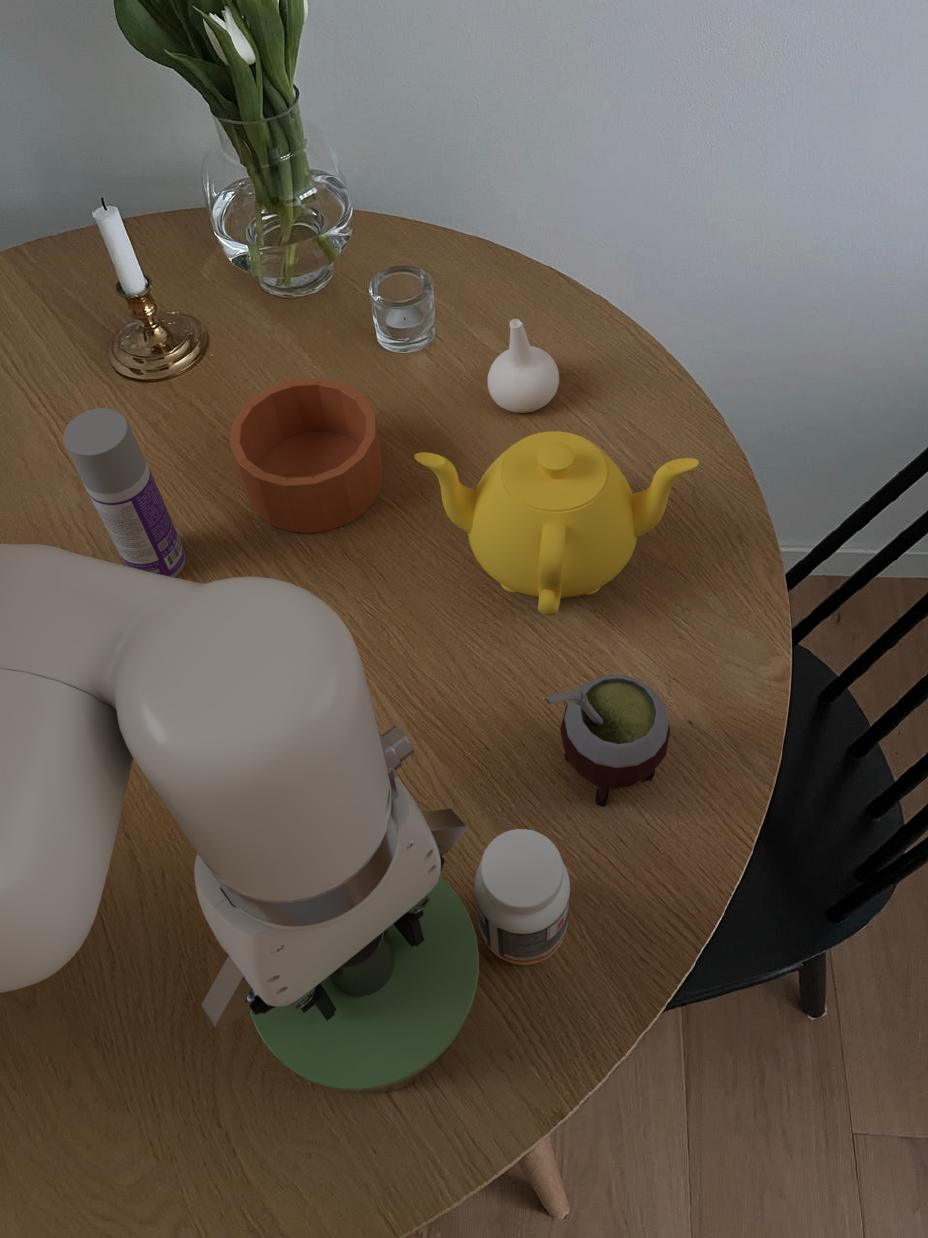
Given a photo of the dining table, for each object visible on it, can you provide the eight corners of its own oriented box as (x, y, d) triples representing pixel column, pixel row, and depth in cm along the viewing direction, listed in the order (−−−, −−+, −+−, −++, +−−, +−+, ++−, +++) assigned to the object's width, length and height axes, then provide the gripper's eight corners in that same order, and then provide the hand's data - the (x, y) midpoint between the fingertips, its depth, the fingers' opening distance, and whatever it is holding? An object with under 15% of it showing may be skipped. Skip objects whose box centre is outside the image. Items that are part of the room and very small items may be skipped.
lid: (208, 1042, 56) (173, 1010, 50) (308, 829, 62) (287, 781, 57) (429, 1131, 53) (419, 1108, 48) (510, 899, 60) (510, 855, 54)
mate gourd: (667, 733, 75) (697, 615, 62) (648, 835, 71) (675, 730, 58) (564, 710, 76) (573, 590, 64) (539, 809, 72) (543, 701, 60)
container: (167, 529, 87) (108, 396, 75) (197, 563, 85) (142, 432, 73) (117, 559, 86) (49, 429, 73) (146, 595, 84) (81, 467, 71)
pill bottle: (582, 906, 68) (591, 848, 60) (540, 985, 66) (543, 936, 57) (505, 864, 70) (503, 802, 62) (461, 939, 67) (453, 885, 59)
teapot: (416, 636, 80) (402, 544, 71) (432, 486, 88) (422, 385, 79) (683, 646, 79) (706, 552, 69) (675, 492, 87) (694, 390, 77)
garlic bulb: (567, 411, 93) (571, 340, 86) (497, 425, 92) (496, 355, 85) (547, 362, 96) (549, 291, 89) (480, 375, 96) (477, 304, 89)
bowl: (222, 513, 88) (204, 464, 83) (283, 416, 94) (269, 365, 89) (350, 548, 85) (339, 500, 80) (404, 446, 91) (397, 395, 86)
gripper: (413, 640, 46) (439, 810, 61) (59, 891, 40) (185, 1010, 55) (529, 759, 42) (526, 908, 57) (160, 1052, 37) (265, 1131, 52)
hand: (358, 957), depth 56 cm, fingers open, 5 cm apart
